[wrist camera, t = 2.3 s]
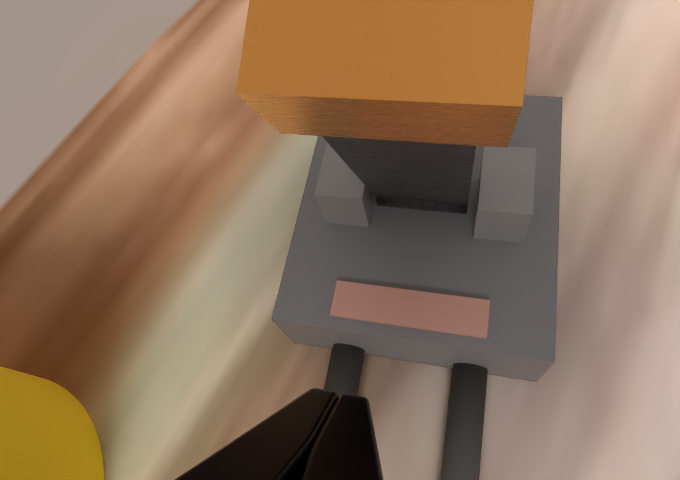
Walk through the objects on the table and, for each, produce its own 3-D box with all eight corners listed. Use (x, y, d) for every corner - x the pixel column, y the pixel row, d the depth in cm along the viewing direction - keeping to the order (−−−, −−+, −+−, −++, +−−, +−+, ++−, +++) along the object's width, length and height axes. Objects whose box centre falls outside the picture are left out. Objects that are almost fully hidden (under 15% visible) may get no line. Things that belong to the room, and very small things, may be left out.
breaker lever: (481, 220, 18) (523, 106, 7) (366, 209, 19) (236, 93, 8) (486, 171, 18) (535, -20, 7) (372, 162, 19) (252, -19, 8)
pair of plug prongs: (465, 624, 16) (468, 634, 14) (290, 577, 17) (280, 583, 16) (487, 356, 19) (490, 349, 18) (339, 334, 20) (333, 325, 19)
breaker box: (535, 381, 18) (570, 345, 14) (294, 342, 20) (252, 300, 16) (545, 147, 22) (575, 57, 17) (342, 134, 24) (321, 51, 20)
